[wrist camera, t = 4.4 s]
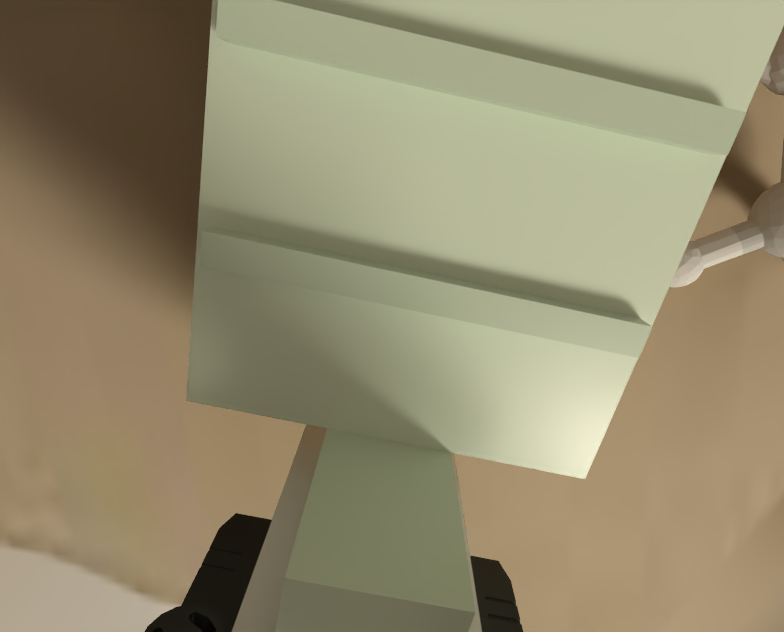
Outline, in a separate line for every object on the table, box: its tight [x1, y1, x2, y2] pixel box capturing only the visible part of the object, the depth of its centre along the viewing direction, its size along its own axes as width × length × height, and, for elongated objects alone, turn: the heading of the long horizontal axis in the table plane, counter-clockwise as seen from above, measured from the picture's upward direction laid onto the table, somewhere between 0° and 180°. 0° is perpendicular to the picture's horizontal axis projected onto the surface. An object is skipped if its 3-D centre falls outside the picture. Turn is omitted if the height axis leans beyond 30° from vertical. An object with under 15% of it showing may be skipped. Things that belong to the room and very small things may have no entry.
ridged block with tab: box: [186, 0, 784, 632], centre depth 8 cm, size 10×22×5 cm, turn 168°
